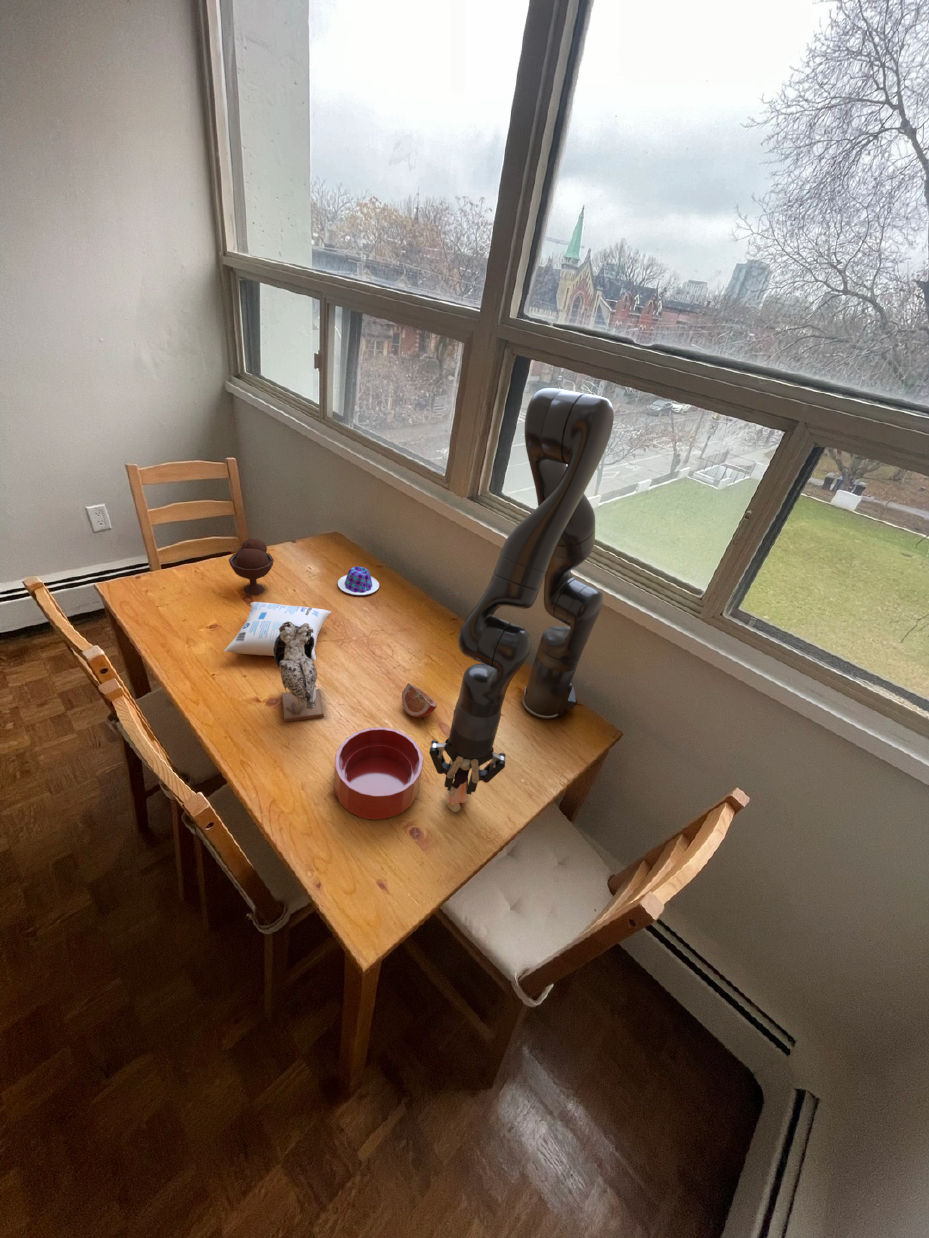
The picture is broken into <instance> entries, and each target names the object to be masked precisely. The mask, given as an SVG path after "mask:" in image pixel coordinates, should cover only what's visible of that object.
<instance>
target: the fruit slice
mask: <svg viewBox="0 0 929 1238" xmlns="http://www.w3.org/2000/svg"><path fill="white" fill-rule="evenodd" d="M401 702H402V703H401V704H402V706H403V708H404V711H405V712H406V713H407V714H408V715H409V716H412V717H414V718H423V717H426V716H428V715H430V714H431V713H432V712H434V711H435V710H436V708H437V707H438V703H437V702H436V701H435V700H434V699H433V698H432V697H431V696H430V695H429V694H427V693H426V691H424V690H423V689H421V688H419V687H417V686H416V685H414V684H411V683H407V684H406V686H405V687H404V688H403V691H402V692H401Z"/></svg>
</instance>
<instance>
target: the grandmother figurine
mask: <svg viewBox="0 0 929 1238" xmlns="http://www.w3.org/2000/svg"><path fill="white" fill-rule="evenodd" d="M470 764H471V760H469V759H464V760H463V762H462V763H461V765H460V767H459V768H458V770H457V772H455V774H454V780H453V784H452V787H451V790H450V791H449V792H448V795H449V797H448V799H447V801H446V802H445V805H446V807H447V808H448V809H449V810H450V811H451V812H453V813H458V812H459V811H460V810H461V804H463V803H466V802H467V801H468V798H469V794H467V791H468V784H469V774H470V770H472V768H471V767H470V766H469V765H470ZM460 803H461V804H460Z"/></svg>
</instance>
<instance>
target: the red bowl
mask: <svg viewBox="0 0 929 1238" xmlns="http://www.w3.org/2000/svg"><path fill="white" fill-rule="evenodd" d="M423 766H424V758H423V752H422V749H420V747H419V745H418V743H417V741H415V740H414V739H413V738H411V736H409V735H408V734H407V733H404V732H403V731H400V730H399V729H396V728H391V727H385V726H376V727H368V728H363V729H360V730H358V731H356V732H354V733H352V734H350V735H349V736H348V737H346V738H345V739H344V740H343V742H342V743H341V744H340V745H339V746H338V749H337V751H336V753H335V756H334V793H335V796H336V798H337V801H338V802H339V803H340V804H341V805H342V806H343V808H344V809H345V810H346V811H347V812H349V813H352V814H353V815H355V816H357V817H359V818H363V819H369V820H373V821H375V820H384V819H390V818H393V817H396V816H397V815H401V814H402V813H404V811H405V810H407V809H408V808H409V807H411V805H412V804H413V802H414V801H415V800H416V798H417V796H418V794H419V788H420V784H421V778H422V772H423Z"/></svg>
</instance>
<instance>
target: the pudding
mask: <svg viewBox="0 0 929 1238" xmlns="http://www.w3.org/2000/svg"><path fill="white" fill-rule="evenodd" d="M337 586H338V588H339V589H340V590H341V591H343V592H344V593H347V594H351V595H356V596H366V595H370V594H373V593H375V592H377V590H378V589H379V588H380V583H379V581H378V580H377V579H376V578H375V577H373V576H371V572H370V570H368V569H367V568H366V567H363V566H353V567H351V568H349V570H348V571H347V574H345V575H343V576H341V577H340V578H339V579H338V580H337Z"/></svg>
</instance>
